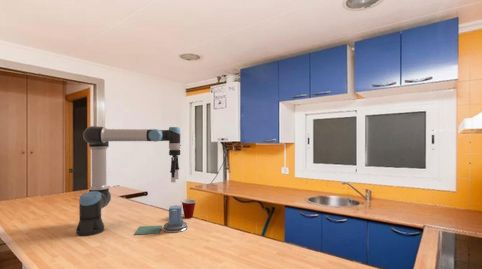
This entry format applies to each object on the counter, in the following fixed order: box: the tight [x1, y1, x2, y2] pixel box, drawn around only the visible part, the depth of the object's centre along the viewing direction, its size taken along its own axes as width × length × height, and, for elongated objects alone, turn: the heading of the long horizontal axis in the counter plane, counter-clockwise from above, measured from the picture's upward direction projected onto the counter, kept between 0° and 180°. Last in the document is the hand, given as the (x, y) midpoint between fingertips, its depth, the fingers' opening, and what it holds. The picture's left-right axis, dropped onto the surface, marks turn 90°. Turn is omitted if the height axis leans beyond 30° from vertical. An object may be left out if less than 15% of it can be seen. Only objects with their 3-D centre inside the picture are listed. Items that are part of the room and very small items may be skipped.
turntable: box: [163, 220, 188, 231], centre depth 175 cm, size 14×19×4 cm
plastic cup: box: [180, 198, 197, 219], centre depth 198 cm, size 11×11×12 cm
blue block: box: [168, 204, 183, 225], centre depth 172 cm, size 7×12×11 cm, turn 7°
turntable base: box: [162, 225, 189, 234], centre depth 173 cm, size 15×15×1 cm
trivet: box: [133, 225, 163, 236], centre depth 170 cm, size 14×14×1 cm
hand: (174, 180), depth 188 cm, fingers open, 13 cm apart
